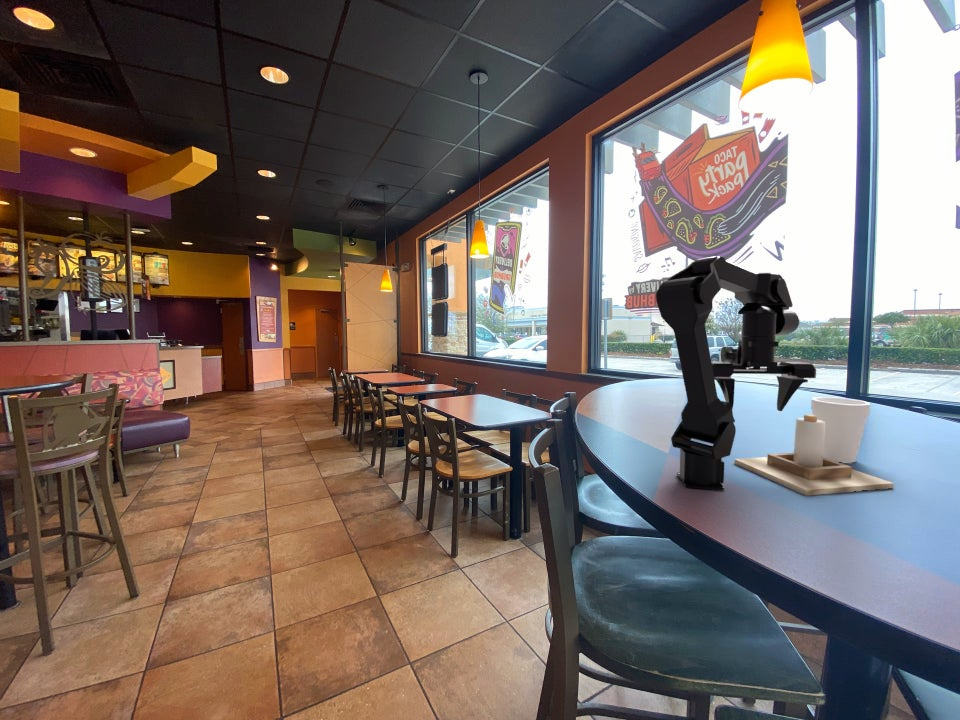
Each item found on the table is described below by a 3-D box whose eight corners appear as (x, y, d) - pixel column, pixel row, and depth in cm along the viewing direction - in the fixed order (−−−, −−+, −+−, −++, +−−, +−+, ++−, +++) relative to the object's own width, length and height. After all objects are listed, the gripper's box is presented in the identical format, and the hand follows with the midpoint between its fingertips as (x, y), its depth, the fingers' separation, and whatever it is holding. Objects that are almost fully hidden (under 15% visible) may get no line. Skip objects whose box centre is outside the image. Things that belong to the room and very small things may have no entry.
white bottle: (813, 475, 73) (817, 419, 72) (788, 468, 77) (791, 414, 76) (827, 472, 75) (830, 417, 74) (801, 464, 79) (804, 412, 78)
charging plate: (806, 495, 67) (807, 479, 67) (734, 463, 83) (734, 450, 83) (893, 488, 69) (894, 472, 69) (807, 458, 85) (808, 445, 85)
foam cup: (845, 467, 80) (850, 406, 78) (798, 453, 88) (801, 398, 87) (876, 462, 82) (881, 403, 81) (827, 449, 91) (831, 395, 90)
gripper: (787, 334, 85) (784, 403, 87) (696, 335, 89) (693, 401, 91) (820, 336, 74) (815, 415, 76) (714, 337, 78) (711, 411, 80)
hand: (754, 410), depth 81 cm, fingers open, 9 cm apart
